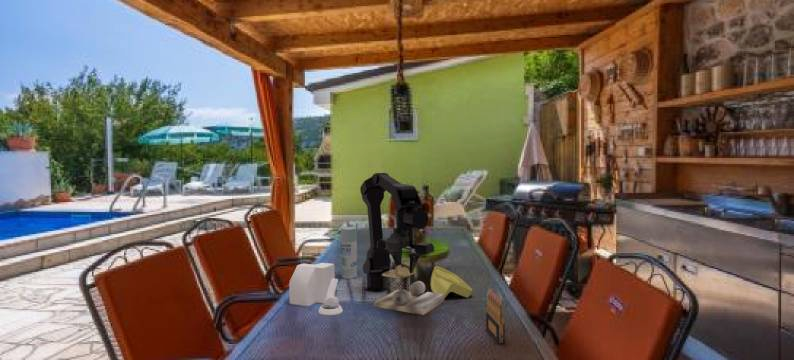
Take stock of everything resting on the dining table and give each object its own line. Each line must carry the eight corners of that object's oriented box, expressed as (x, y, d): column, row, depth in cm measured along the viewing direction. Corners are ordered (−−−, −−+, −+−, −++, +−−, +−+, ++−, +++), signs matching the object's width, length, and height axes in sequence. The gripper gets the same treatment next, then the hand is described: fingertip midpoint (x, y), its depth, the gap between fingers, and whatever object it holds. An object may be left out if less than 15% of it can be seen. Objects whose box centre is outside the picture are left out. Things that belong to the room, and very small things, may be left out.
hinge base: (373, 306, 161) (373, 288, 161) (397, 294, 175) (397, 277, 175) (423, 314, 153) (423, 296, 152) (444, 300, 167) (444, 283, 166)
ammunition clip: (485, 329, 140) (485, 287, 139) (492, 329, 140) (492, 287, 139) (498, 344, 129) (498, 299, 128) (505, 343, 129) (505, 298, 129)
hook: (349, 288, 165) (349, 281, 159) (340, 323, 159) (340, 317, 153) (327, 283, 165) (326, 276, 159) (317, 318, 159) (316, 312, 153)
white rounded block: (335, 298, 171) (334, 263, 171) (316, 307, 161) (315, 271, 161) (309, 294, 176) (308, 261, 175) (289, 303, 166) (288, 268, 165)
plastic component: (474, 291, 170) (449, 281, 167) (465, 310, 170) (440, 300, 167) (455, 273, 189) (432, 263, 186) (446, 290, 189) (424, 281, 186)
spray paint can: (360, 276, 201) (360, 227, 199) (350, 280, 195) (349, 229, 194) (347, 274, 204) (347, 226, 203) (337, 277, 199) (337, 228, 197)
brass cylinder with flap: (406, 279, 158) (406, 266, 157) (382, 275, 163) (382, 262, 162) (415, 275, 163) (415, 262, 162) (392, 271, 168) (392, 259, 167)
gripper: (366, 225, 158) (367, 273, 160) (417, 230, 148) (417, 282, 149) (386, 221, 168) (386, 266, 169) (434, 225, 158) (434, 273, 159)
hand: (405, 272), depth 161 cm, fingers closed on brass cylinder with flap, 4 cm apart
